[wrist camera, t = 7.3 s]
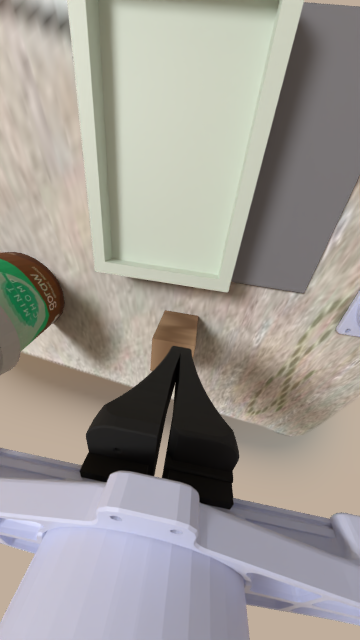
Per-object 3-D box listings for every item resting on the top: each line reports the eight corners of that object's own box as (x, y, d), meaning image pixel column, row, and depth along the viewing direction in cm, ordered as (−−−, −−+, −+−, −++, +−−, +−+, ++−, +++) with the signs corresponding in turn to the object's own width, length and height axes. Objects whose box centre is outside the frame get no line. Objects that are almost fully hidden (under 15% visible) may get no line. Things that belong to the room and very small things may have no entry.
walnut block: (198, 315, 22) (195, 346, 17) (192, 343, 24) (188, 377, 19) (165, 310, 23) (152, 338, 17) (162, 337, 24) (150, 370, 19)
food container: (93, 317, 24) (29, 373, 16) (58, 331, 26) (-16, 387, 17) (24, 218, 19) (-125, 219, 11) (-13, 243, 21) (-165, 261, 13)
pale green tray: (293, 0, 11) (325, -81, 8) (224, 280, 19) (227, 292, 16) (96, -15, 12) (57, -96, 9) (111, 263, 20) (95, 271, 17)
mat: (427, 20, 11) (436, 12, 11) (301, 291, 19) (303, 293, 19) (71, -8, 12) (66, -16, 12) (96, 259, 21) (94, 260, 20)
